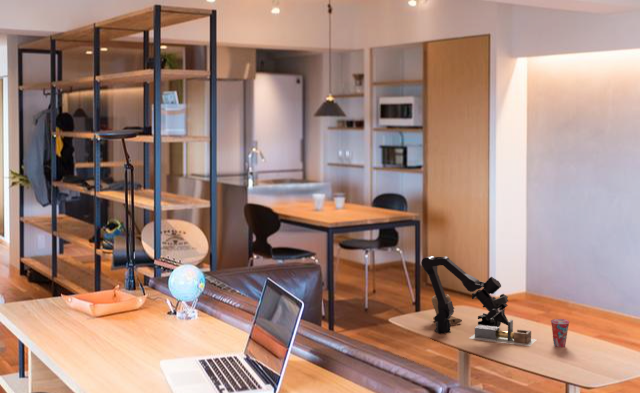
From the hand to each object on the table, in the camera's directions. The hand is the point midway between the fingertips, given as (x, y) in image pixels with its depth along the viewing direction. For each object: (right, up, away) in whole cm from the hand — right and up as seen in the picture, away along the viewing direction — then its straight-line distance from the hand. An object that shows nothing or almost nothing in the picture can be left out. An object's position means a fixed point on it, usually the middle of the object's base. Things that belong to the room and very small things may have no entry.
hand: (508, 324), depth 389 cm
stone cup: (-25, -5, +36) cm, 44 cm away
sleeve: (-9, -7, +6) cm, 13 cm away
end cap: (-4, -6, +24) cm, 25 cm away
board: (-2, -8, +2) cm, 8 cm away
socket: (+6, -8, -3) cm, 10 cm away
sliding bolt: (-1, -7, +1) cm, 7 cm away
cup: (+22, -9, -10) cm, 25 cm away
